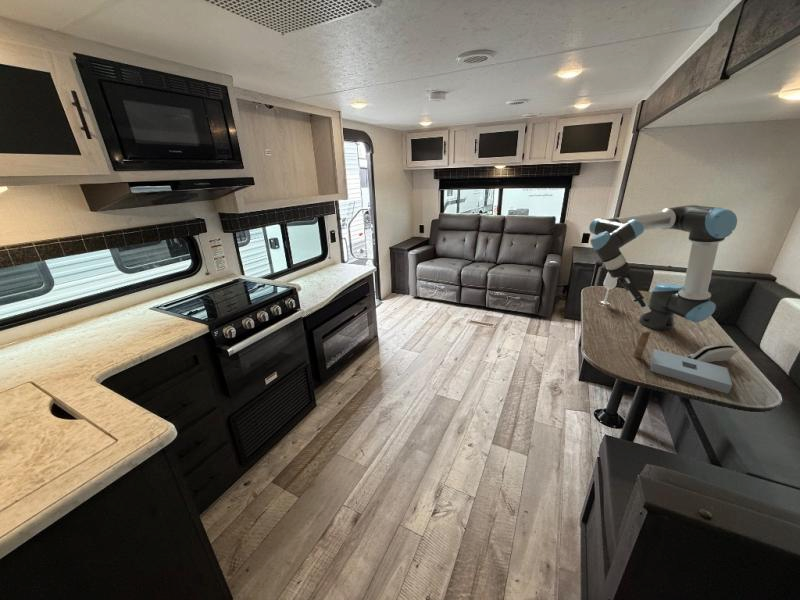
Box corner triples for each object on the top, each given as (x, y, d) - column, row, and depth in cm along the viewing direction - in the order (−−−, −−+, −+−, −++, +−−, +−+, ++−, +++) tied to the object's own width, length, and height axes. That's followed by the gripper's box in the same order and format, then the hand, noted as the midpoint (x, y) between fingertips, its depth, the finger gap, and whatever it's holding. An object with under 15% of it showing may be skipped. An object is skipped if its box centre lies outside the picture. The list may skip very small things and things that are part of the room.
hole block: (650, 371, 133) (653, 363, 131) (651, 356, 143) (653, 348, 141) (728, 393, 119) (732, 385, 118) (723, 375, 130) (727, 367, 128)
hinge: (717, 353, 145) (733, 339, 138) (726, 362, 141) (743, 348, 134) (685, 356, 142) (701, 342, 136) (694, 365, 139) (710, 351, 132)
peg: (633, 354, 145) (642, 329, 140) (641, 356, 143) (650, 331, 138) (633, 356, 143) (641, 332, 138) (641, 359, 141) (650, 334, 136)
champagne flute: (606, 306, 193) (617, 269, 183) (595, 302, 198) (605, 266, 189) (612, 304, 196) (623, 268, 186) (602, 300, 201) (611, 265, 192)
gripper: (601, 264, 146) (625, 301, 147) (614, 277, 124) (641, 321, 125) (619, 255, 142) (643, 294, 143) (634, 267, 120) (662, 313, 122)
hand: (642, 306), depth 134 cm, fingers open, 13 cm apart
